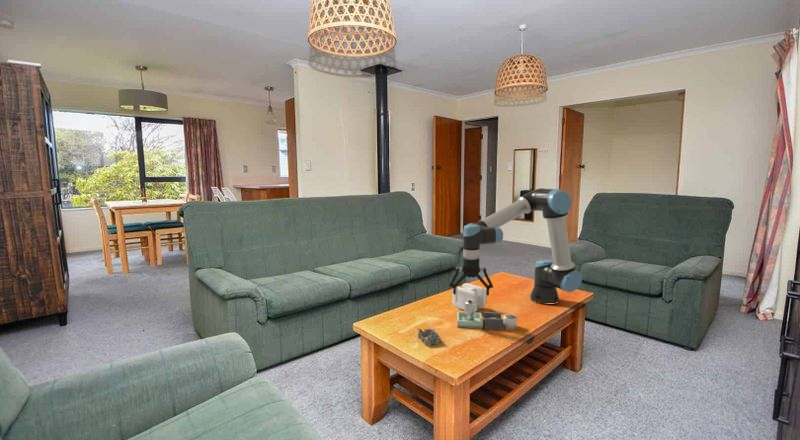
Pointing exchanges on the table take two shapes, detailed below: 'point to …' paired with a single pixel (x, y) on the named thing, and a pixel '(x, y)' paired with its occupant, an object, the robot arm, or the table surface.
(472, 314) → the steel cell
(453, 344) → the table surface
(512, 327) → the cup
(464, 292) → the cable organizer
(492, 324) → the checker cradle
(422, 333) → the dark grey lumpy ring
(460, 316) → the tray
